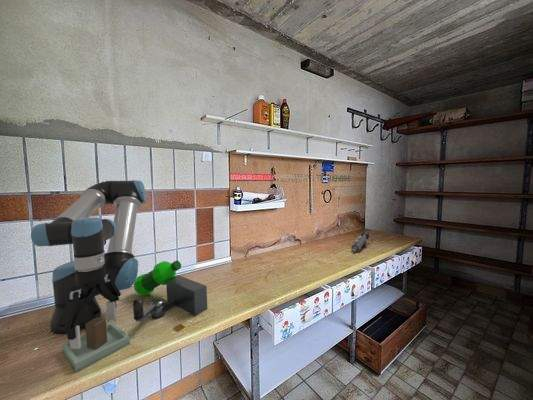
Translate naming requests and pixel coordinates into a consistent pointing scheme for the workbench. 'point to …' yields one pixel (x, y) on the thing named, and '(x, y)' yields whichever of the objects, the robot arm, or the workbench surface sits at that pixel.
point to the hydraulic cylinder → (360, 241)
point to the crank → (138, 308)
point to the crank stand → (183, 298)
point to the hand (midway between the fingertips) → (95, 332)
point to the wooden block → (96, 332)
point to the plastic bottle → (156, 277)
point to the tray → (88, 355)
